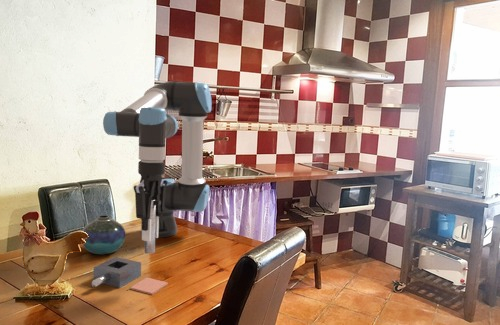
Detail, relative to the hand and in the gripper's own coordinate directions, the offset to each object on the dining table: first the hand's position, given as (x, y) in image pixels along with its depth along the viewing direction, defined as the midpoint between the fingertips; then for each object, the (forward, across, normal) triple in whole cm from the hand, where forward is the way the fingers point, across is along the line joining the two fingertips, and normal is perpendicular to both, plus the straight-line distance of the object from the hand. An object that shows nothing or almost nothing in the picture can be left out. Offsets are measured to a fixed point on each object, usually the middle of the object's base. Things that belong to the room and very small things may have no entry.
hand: (150, 238), depth 117 cm
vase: (+15, -16, -32) cm, 39 cm away
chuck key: (+4, 0, 0) cm, 4 cm away
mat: (+15, 0, 0) cm, 15 cm away
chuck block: (+15, +2, -12) cm, 20 cm away
